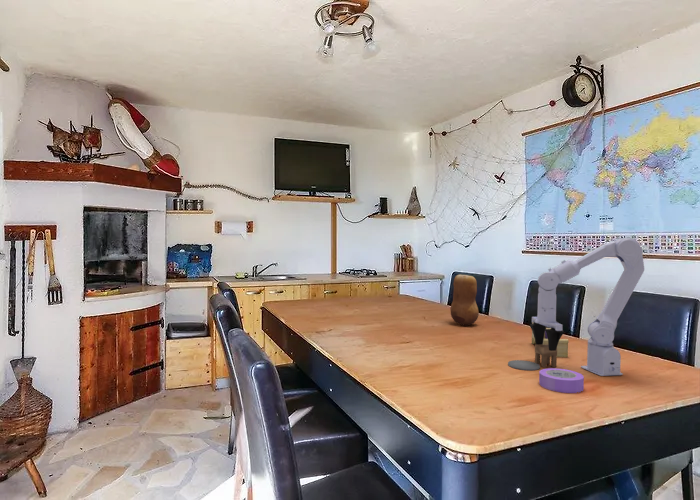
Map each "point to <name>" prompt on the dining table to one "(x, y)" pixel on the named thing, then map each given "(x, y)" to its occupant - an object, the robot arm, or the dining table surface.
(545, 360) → the wooden toy stool
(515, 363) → the mat
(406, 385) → the dining table surface
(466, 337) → the dining table surface
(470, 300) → the butternut squash
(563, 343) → the toy sofa
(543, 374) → the masking tape
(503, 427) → the dining table surface
